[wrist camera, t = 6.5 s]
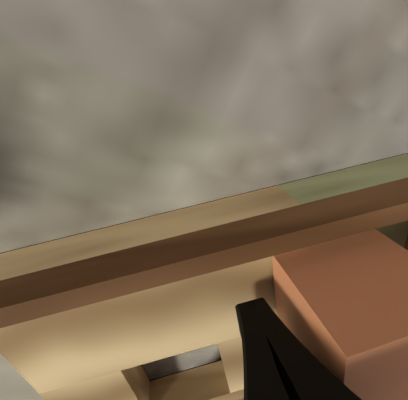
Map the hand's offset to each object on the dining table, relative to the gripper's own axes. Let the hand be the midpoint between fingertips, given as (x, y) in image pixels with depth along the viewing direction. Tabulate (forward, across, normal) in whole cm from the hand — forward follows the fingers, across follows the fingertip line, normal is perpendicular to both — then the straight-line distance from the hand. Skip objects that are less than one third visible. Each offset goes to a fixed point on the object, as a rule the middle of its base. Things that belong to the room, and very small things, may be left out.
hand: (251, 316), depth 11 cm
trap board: (+3, +1, +2) cm, 4 cm away
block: (+1, -4, 0) cm, 4 cm away
